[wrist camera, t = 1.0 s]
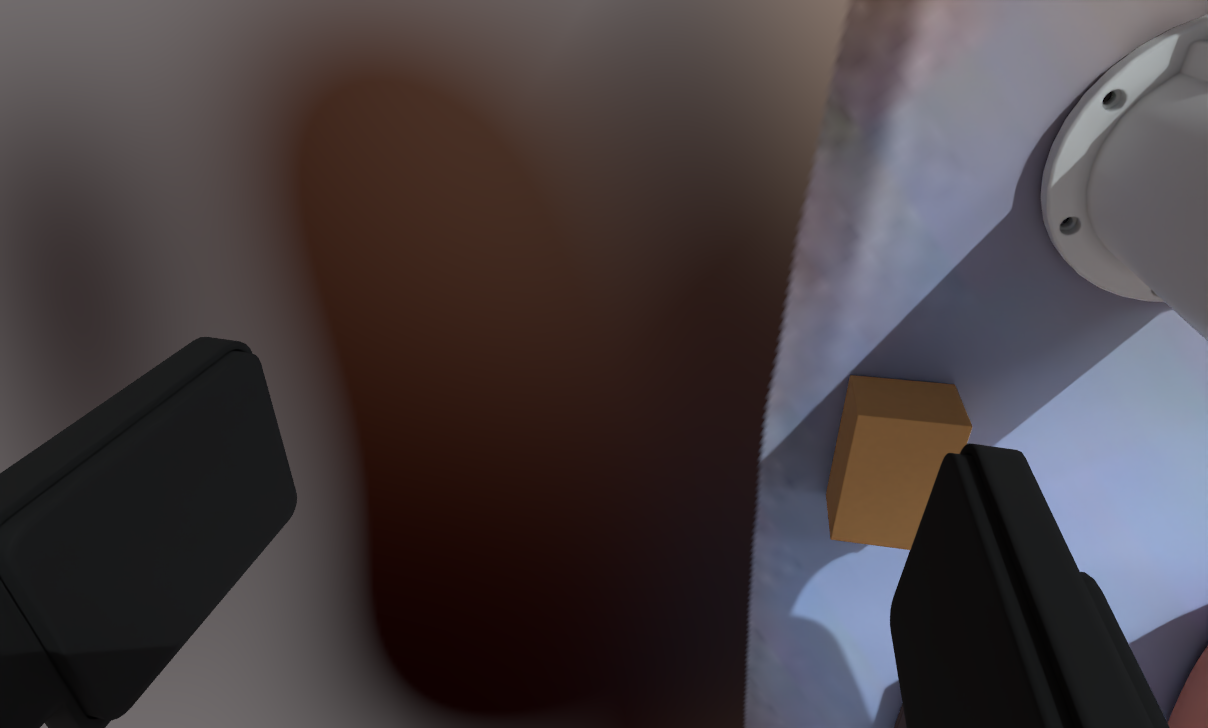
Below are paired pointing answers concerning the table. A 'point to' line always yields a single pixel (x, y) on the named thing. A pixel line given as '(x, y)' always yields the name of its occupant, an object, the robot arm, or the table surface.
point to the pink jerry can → (1193, 698)
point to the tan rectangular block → (891, 457)
